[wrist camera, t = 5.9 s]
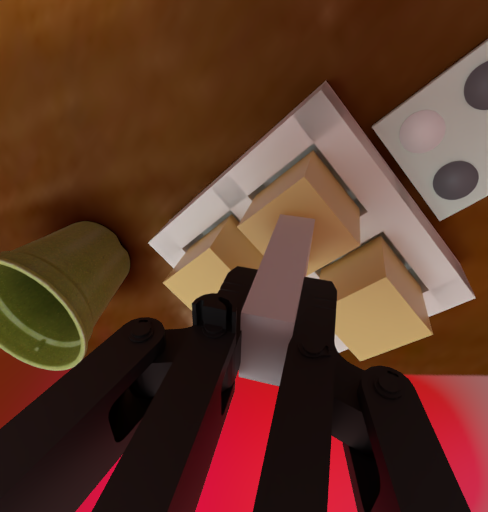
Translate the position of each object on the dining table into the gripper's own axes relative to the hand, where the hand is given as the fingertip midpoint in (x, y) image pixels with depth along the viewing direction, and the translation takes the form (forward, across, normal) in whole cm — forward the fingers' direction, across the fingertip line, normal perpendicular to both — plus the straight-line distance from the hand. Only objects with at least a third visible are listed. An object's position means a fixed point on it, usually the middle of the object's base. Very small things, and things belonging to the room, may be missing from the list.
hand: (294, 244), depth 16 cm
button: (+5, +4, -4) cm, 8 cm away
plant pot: (+8, -17, -8) cm, 21 cm away
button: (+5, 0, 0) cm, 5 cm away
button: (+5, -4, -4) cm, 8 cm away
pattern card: (+8, +8, +4) cm, 12 cm away
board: (+8, 0, -4) cm, 9 cm away
